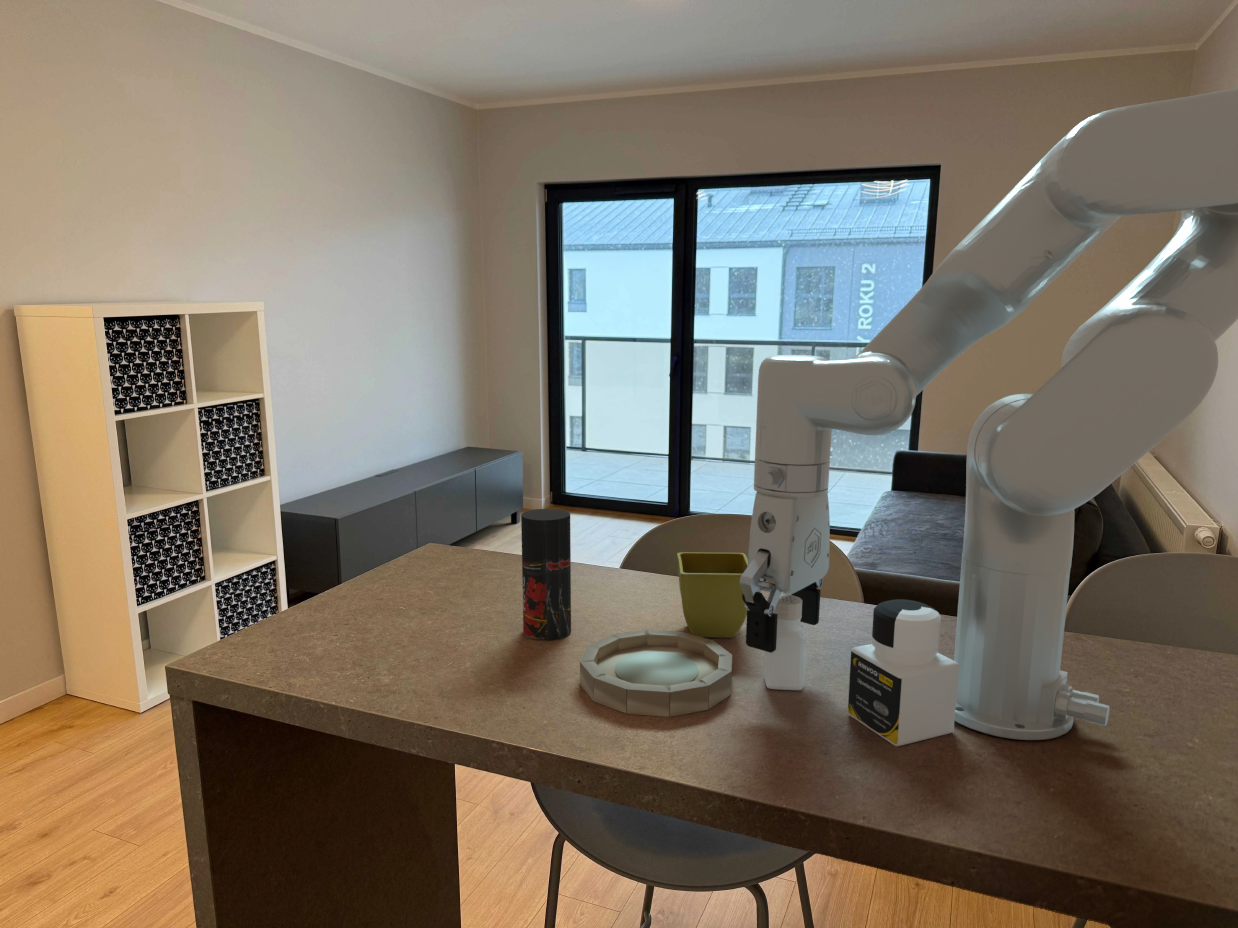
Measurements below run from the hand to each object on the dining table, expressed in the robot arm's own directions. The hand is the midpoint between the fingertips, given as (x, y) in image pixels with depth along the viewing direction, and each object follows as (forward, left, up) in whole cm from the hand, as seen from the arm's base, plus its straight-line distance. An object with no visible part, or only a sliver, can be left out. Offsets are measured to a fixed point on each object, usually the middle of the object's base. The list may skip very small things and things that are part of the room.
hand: (783, 634), depth 89 cm
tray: (+11, +8, -6) cm, 15 cm away
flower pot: (+14, -8, -6) cm, 17 cm away
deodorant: (+30, +5, -6) cm, 31 cm away
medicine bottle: (-13, +1, -6) cm, 14 cm away
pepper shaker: (0, 0, -6) cm, 6 cm away
